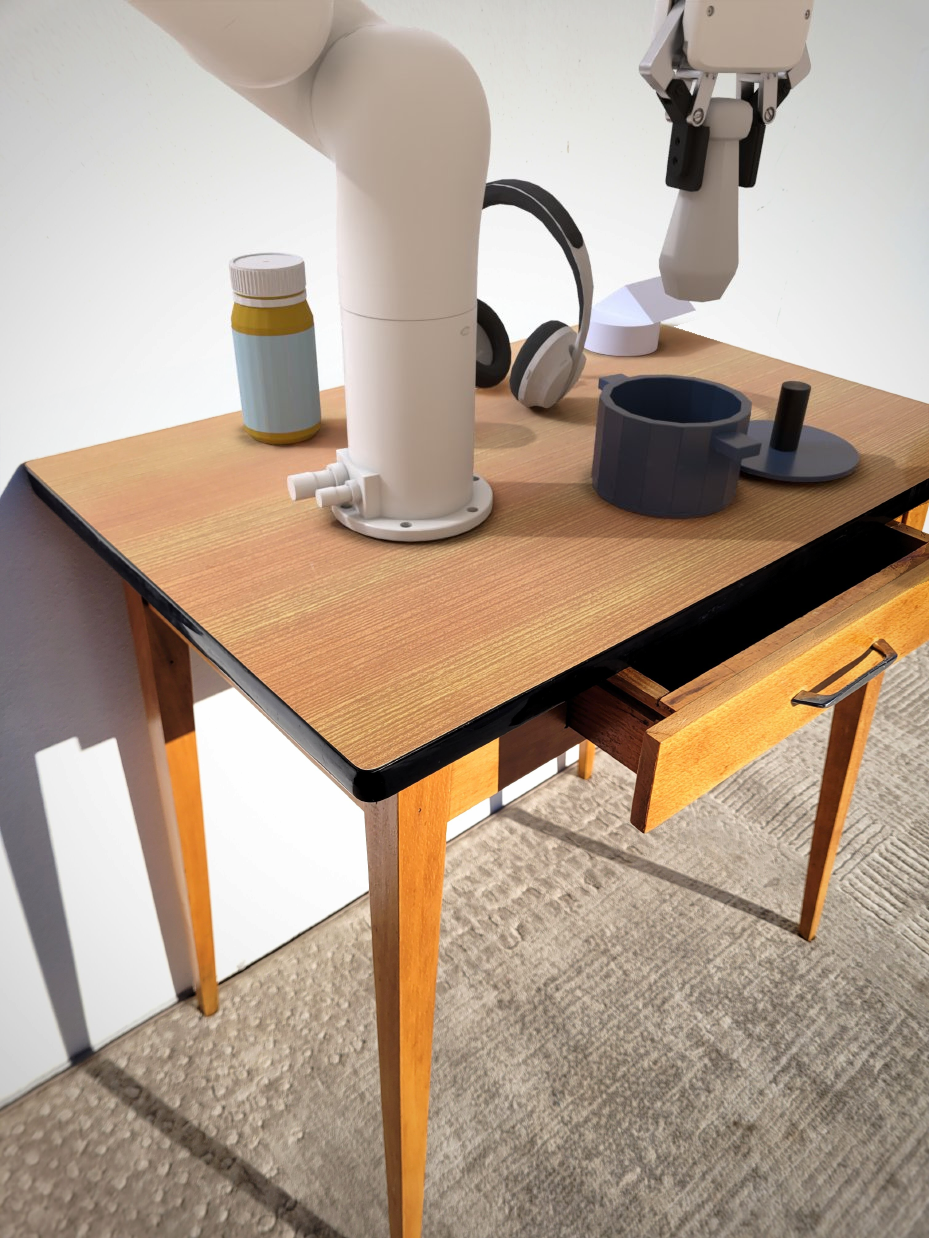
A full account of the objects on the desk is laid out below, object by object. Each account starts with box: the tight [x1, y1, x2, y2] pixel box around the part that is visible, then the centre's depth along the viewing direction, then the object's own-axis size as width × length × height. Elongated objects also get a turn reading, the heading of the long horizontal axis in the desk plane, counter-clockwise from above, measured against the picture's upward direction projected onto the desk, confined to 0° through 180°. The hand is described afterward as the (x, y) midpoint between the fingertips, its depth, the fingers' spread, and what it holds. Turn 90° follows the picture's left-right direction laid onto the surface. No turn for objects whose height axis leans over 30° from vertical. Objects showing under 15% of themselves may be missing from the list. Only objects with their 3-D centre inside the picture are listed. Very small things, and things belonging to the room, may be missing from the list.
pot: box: [590, 373, 762, 519], centre depth 74 cm, size 12×17×8 cm
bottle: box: [228, 251, 322, 445], centre depth 80 cm, size 7×7×15 cm
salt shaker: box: [658, 96, 753, 303], centre depth 66 cm, size 6×6×13 cm
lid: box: [740, 380, 860, 483], centre depth 79 cm, size 13×13×7 cm
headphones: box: [475, 178, 595, 409], centre depth 88 cm, size 19×8×20 cm, turn 45°
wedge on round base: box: [584, 275, 697, 357], centre depth 108 cm, size 9×7×13 cm
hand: (710, 184), depth 65 cm, fingers closed on salt shaker, 4 cm apart
